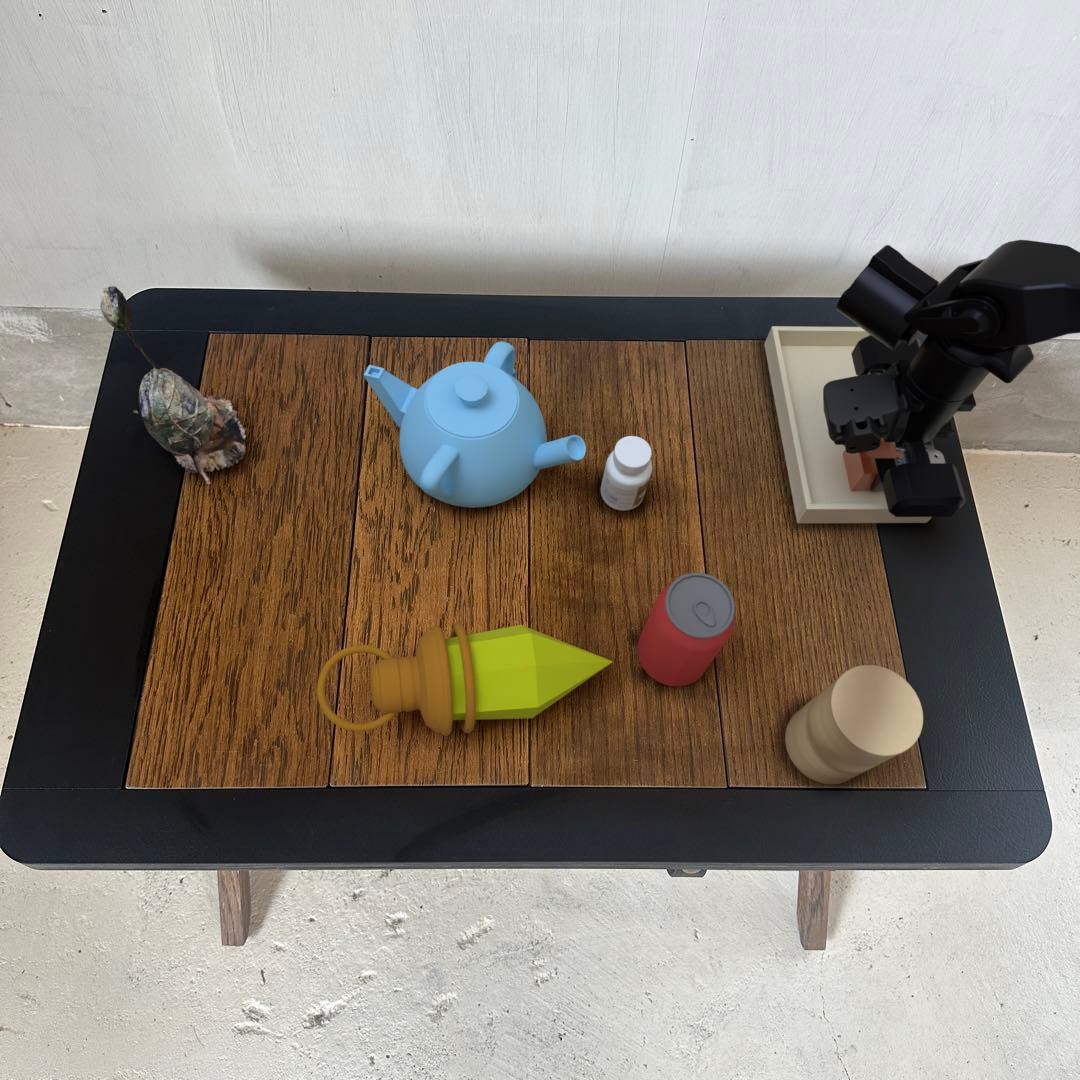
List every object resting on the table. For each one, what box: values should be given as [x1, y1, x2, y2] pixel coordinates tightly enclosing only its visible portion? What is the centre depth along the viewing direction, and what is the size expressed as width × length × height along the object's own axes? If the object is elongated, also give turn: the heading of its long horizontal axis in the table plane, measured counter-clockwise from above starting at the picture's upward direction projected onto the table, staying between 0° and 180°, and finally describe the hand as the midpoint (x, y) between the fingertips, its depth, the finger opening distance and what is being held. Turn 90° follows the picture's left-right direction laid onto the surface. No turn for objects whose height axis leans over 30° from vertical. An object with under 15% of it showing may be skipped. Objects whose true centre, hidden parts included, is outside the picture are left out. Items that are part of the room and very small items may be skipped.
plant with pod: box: [99, 285, 247, 486], centre depth 76 cm, size 8×11×20 cm
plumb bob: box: [316, 623, 614, 737], centre depth 71 cm, size 9×9×25 cm
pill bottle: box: [600, 435, 653, 512], centre depth 81 cm, size 4×4×8 cm
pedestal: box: [784, 664, 924, 785], centre depth 69 cm, size 7×7×12 cm
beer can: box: [637, 572, 736, 687], centre depth 72 cm, size 7×7×12 cm
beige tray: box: [763, 325, 933, 524], centre depth 88 cm, size 22×13×3 cm, turn 2°
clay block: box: [843, 437, 902, 491], centre depth 85 cm, size 4×4×4 cm
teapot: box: [363, 340, 587, 508], centre depth 81 cm, size 15×17×11 cm
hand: (870, 469), depth 86 cm, fingers closed on clay block, 4 cm apart
